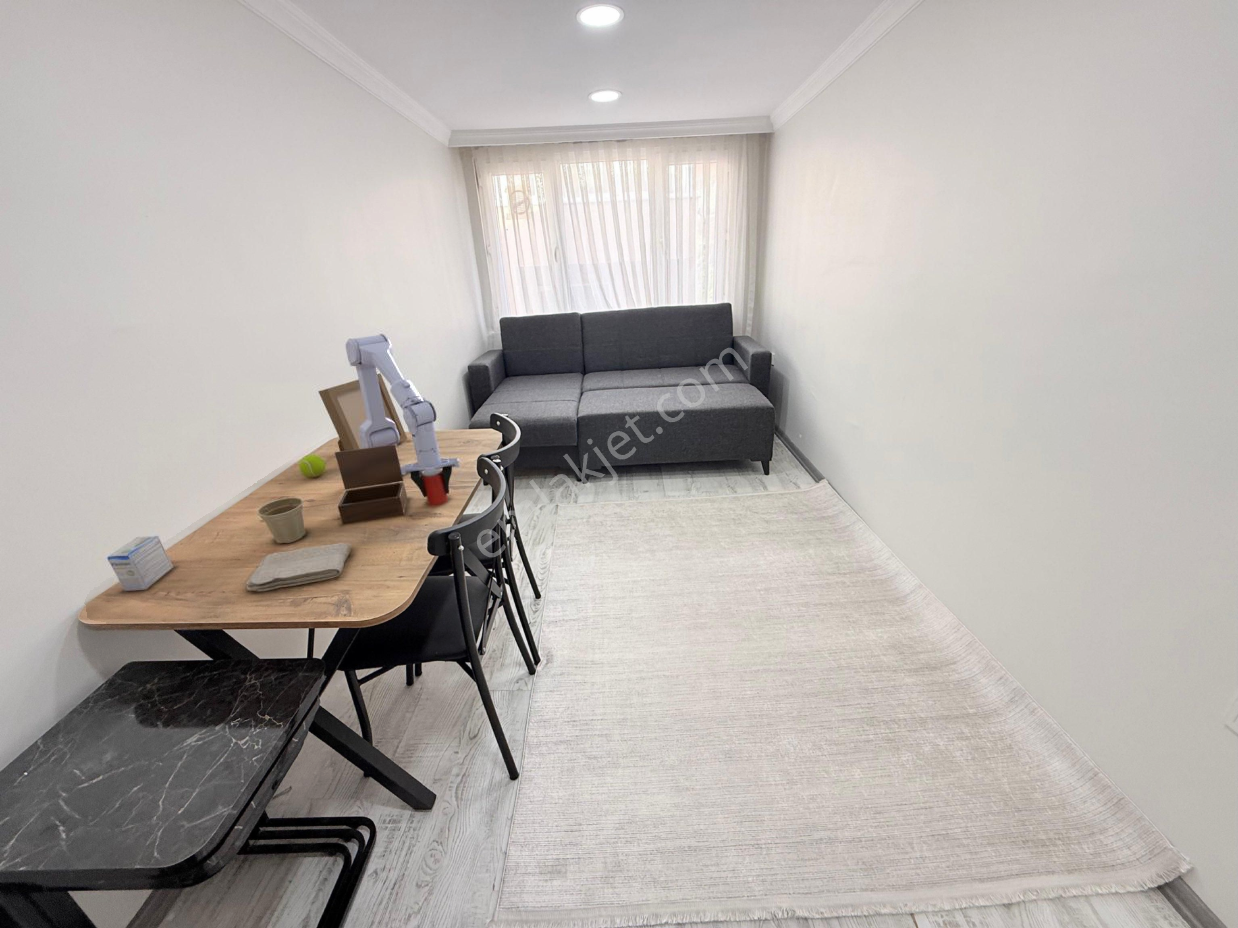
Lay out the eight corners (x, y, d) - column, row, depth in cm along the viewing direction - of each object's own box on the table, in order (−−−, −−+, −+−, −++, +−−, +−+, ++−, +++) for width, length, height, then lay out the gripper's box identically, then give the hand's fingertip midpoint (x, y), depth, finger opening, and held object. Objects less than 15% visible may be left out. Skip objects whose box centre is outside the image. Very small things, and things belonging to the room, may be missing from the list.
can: (424, 503, 135) (417, 474, 131) (438, 495, 139) (432, 467, 135) (437, 507, 132) (431, 477, 129) (452, 498, 136) (446, 470, 133)
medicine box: (153, 569, 110) (136, 536, 107) (174, 567, 110) (158, 534, 107) (124, 591, 103) (105, 557, 99) (146, 590, 103) (128, 555, 100)
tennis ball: (313, 482, 151) (307, 461, 148) (297, 479, 153) (290, 458, 150) (333, 472, 156) (327, 452, 154) (317, 470, 159) (310, 450, 156)
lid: (395, 445, 131) (395, 444, 131) (334, 452, 127) (335, 452, 128) (403, 481, 135) (403, 480, 135) (345, 489, 131) (345, 488, 132)
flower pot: (322, 530, 123) (312, 499, 120) (288, 550, 115) (276, 518, 112) (294, 525, 126) (284, 495, 123) (259, 544, 118) (247, 513, 115)
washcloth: (266, 563, 110) (261, 552, 109) (353, 548, 115) (350, 537, 114) (245, 596, 100) (240, 583, 99) (342, 577, 104) (339, 565, 103)
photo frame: (408, 441, 181) (393, 374, 171) (360, 464, 162) (340, 390, 152) (377, 437, 186) (360, 372, 176) (327, 459, 167) (306, 387, 157)
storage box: (404, 515, 129) (399, 497, 127) (343, 524, 125) (337, 506, 123) (407, 499, 137) (403, 481, 135) (350, 507, 134) (345, 490, 132)
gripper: (395, 457, 124) (406, 504, 129) (455, 449, 127) (463, 495, 133) (398, 447, 130) (409, 493, 136) (455, 440, 134) (463, 485, 139)
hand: (436, 493), depth 135 cm, fingers closed on can, 5 cm apart
